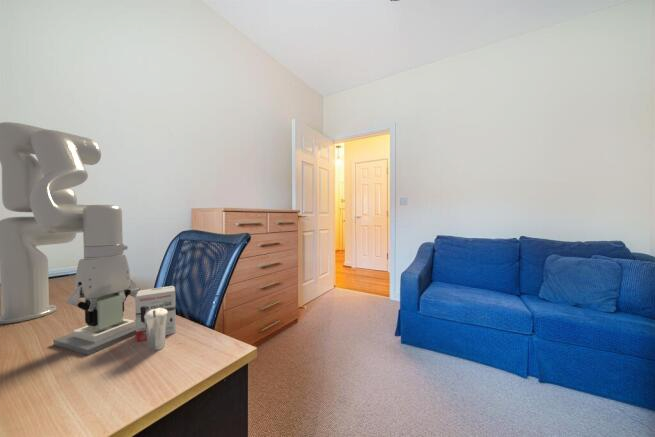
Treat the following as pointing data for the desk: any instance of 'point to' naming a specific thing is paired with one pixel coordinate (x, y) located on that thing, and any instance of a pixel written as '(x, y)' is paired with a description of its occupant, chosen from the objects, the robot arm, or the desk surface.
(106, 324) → the sage block
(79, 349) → the baseplate
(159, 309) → the milkshake
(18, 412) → the desk surface
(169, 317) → the ink box
